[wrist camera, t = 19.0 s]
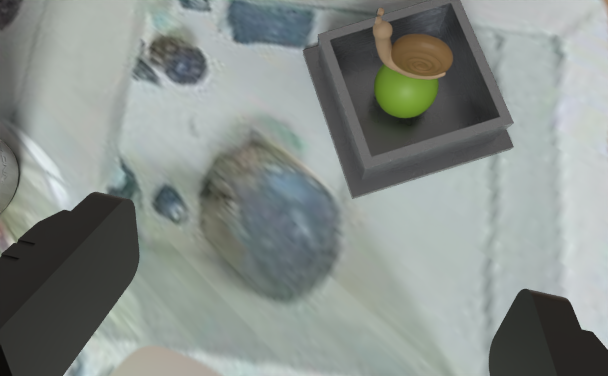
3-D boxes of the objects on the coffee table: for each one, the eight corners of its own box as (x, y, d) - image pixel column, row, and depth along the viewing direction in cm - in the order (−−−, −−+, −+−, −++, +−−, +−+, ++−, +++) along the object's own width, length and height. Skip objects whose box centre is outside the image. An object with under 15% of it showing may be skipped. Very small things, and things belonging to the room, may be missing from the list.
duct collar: (352, 199, 41) (355, 187, 36) (303, 54, 44) (300, 26, 39) (510, 149, 41) (533, 131, 36) (449, 9, 44) (464, -24, 40)
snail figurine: (369, 63, 43) (385, -22, 31) (436, 79, 42) (479, -1, 30) (353, 115, 42) (364, 48, 30) (422, 133, 41) (461, 72, 29)
